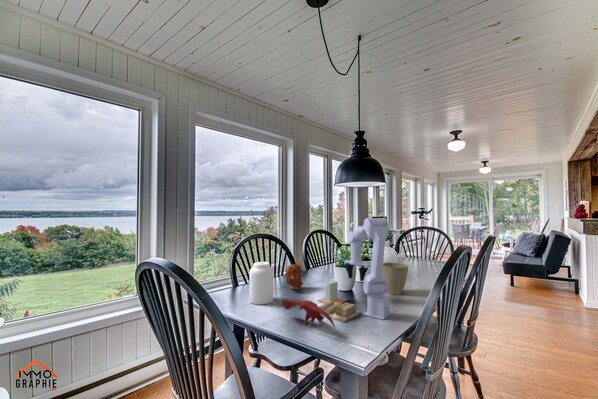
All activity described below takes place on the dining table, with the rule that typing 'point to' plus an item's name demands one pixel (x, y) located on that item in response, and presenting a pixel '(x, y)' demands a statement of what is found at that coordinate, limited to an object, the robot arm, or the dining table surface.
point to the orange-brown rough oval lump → (294, 276)
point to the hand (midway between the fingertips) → (356, 279)
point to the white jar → (261, 283)
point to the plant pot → (395, 276)
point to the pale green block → (331, 291)
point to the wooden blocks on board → (332, 309)
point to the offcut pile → (345, 310)
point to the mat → (339, 300)
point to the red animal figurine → (308, 310)
